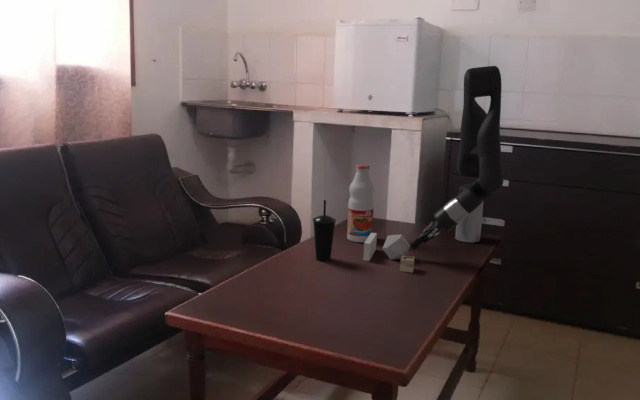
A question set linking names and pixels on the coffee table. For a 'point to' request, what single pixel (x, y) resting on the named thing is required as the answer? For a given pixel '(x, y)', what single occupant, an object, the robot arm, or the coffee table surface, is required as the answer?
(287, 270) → the coffee table surface
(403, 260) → the letter block
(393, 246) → the die
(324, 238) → the drinking cup
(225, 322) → the coffee table surface
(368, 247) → the rail
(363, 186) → the fruit juice
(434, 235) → the robot arm
